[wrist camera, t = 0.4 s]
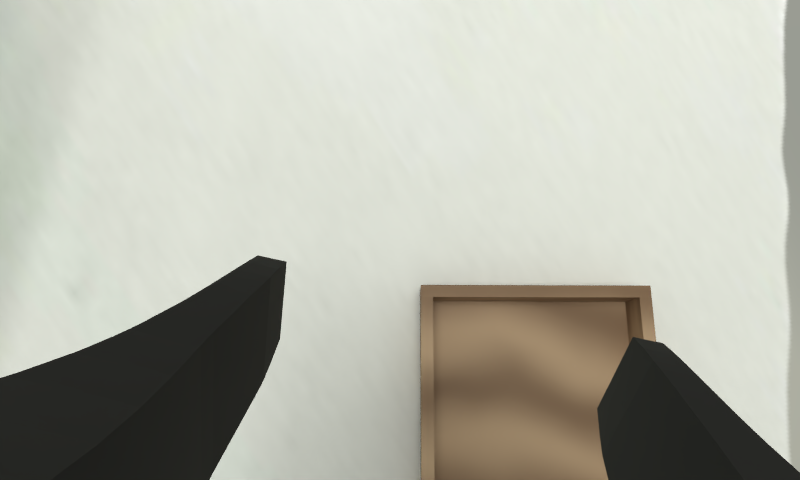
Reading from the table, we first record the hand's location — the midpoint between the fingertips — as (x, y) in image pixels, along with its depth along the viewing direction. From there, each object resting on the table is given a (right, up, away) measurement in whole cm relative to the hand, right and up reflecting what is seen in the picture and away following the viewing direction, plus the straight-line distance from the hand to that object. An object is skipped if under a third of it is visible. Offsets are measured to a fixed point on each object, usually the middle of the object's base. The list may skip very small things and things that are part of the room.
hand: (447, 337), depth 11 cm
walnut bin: (+8, -9, +27) cm, 30 cm away
